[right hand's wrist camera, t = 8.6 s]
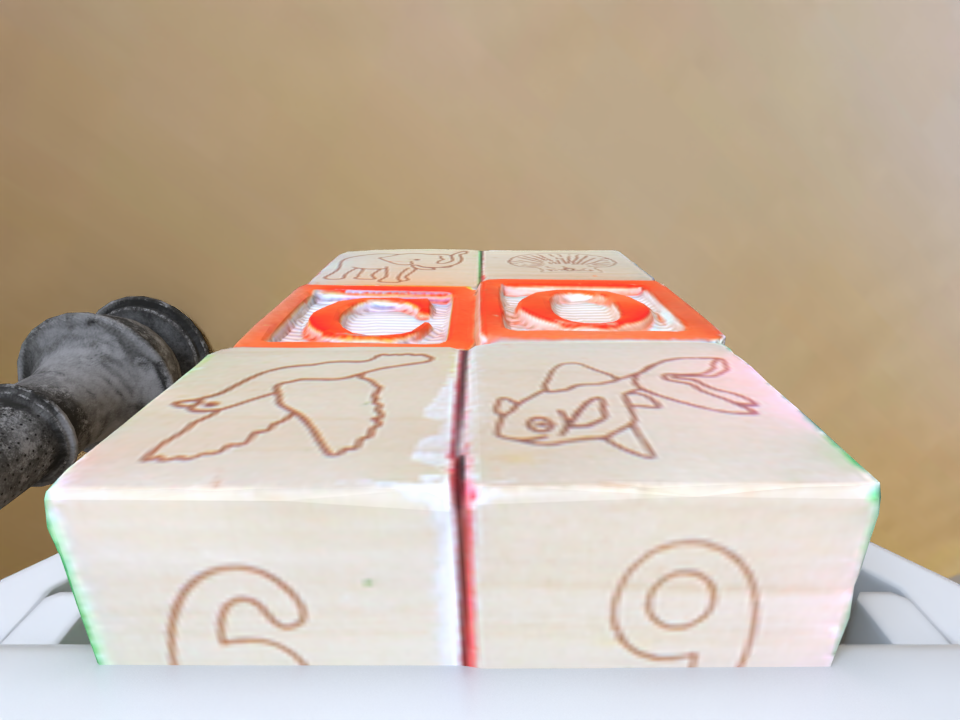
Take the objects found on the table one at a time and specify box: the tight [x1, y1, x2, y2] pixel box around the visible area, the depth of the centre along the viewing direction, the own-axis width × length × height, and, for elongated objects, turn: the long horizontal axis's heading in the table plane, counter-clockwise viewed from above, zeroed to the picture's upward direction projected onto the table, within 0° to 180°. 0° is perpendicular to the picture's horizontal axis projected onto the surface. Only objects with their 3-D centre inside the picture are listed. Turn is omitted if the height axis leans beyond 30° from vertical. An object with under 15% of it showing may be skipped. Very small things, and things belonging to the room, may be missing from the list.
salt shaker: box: [0, 296, 209, 509], centre depth 19 cm, size 6×6×12 cm
